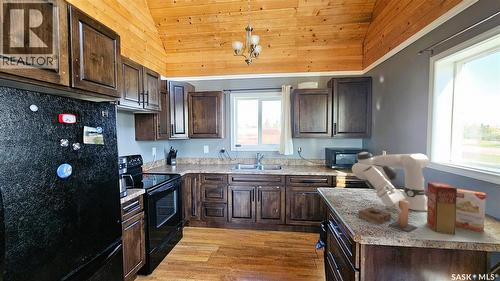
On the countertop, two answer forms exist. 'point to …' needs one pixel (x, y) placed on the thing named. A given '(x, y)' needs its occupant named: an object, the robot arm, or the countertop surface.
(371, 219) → the pocket block
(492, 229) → the countertop surface
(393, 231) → the countertop surface
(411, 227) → the rubber mat
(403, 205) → the peg
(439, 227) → the food packaging
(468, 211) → the cracker box
